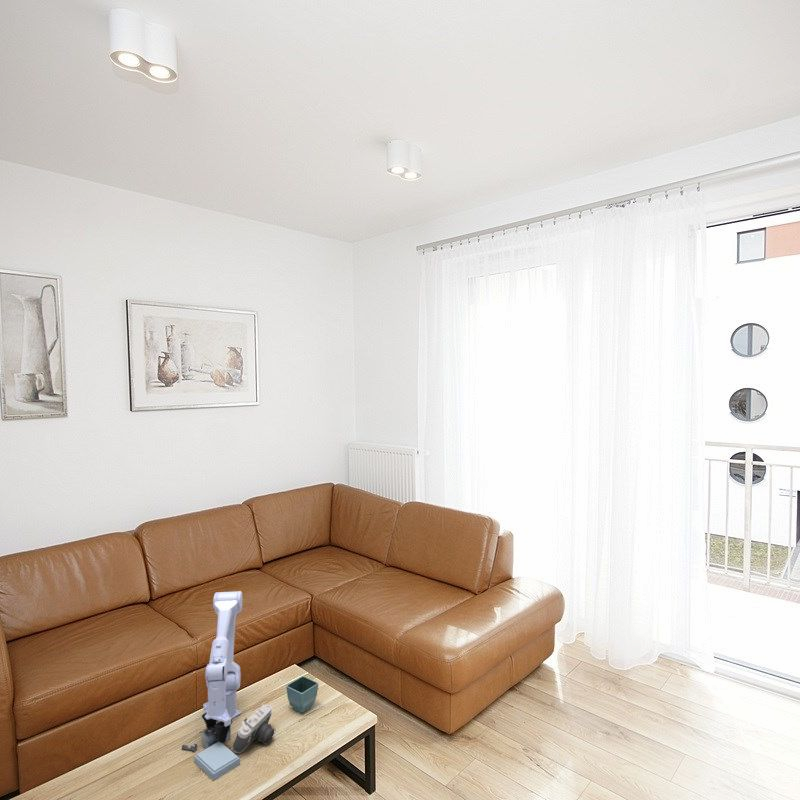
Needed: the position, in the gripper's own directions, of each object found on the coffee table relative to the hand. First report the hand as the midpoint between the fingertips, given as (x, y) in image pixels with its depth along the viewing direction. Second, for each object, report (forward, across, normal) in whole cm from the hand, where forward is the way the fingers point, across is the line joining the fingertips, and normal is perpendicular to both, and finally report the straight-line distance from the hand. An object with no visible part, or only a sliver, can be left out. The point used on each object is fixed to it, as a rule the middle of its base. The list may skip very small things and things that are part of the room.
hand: (217, 738), depth 172 cm
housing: (+2, 0, 0) cm, 2 cm away
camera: (+2, +10, +10) cm, 14 cm away
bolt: (+2, -5, -8) cm, 9 cm away
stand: (+2, +8, -5) cm, 10 cm away
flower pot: (+2, +7, +31) cm, 32 cm away
